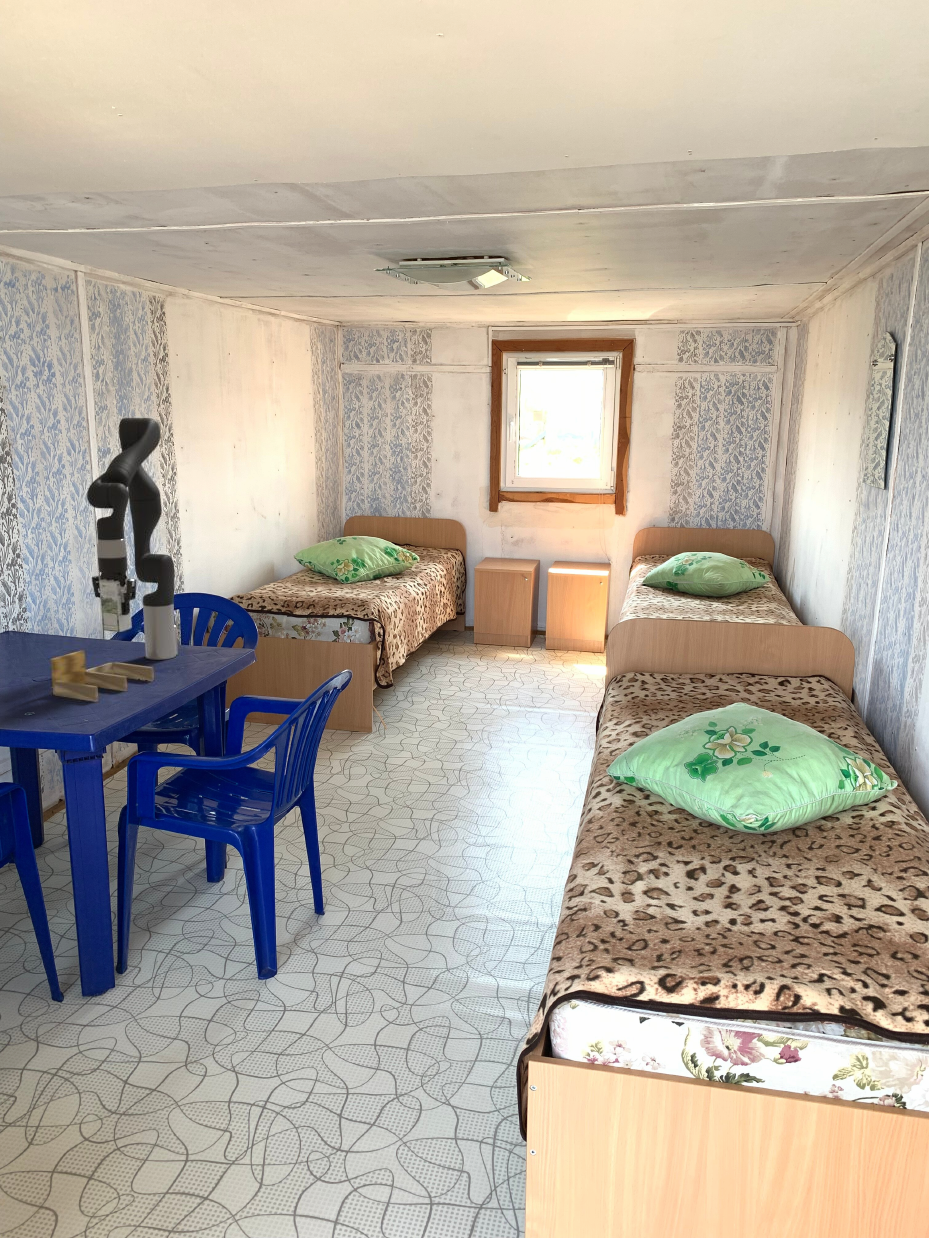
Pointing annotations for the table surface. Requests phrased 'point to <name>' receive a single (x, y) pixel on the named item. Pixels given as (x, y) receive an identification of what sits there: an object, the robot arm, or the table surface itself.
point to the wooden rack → (92, 676)
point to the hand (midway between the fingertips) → (116, 613)
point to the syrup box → (113, 607)
